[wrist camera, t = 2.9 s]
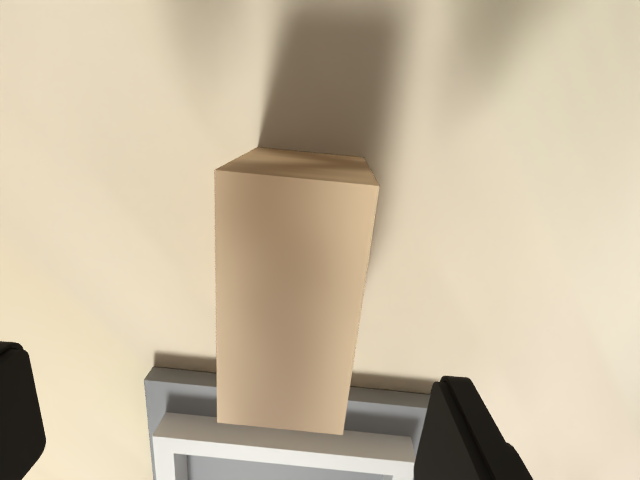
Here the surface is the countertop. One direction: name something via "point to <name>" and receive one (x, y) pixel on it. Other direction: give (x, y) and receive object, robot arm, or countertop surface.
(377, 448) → the locator board
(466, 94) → the countertop surface
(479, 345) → the countertop surface
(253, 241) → the oak block
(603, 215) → the countertop surface
